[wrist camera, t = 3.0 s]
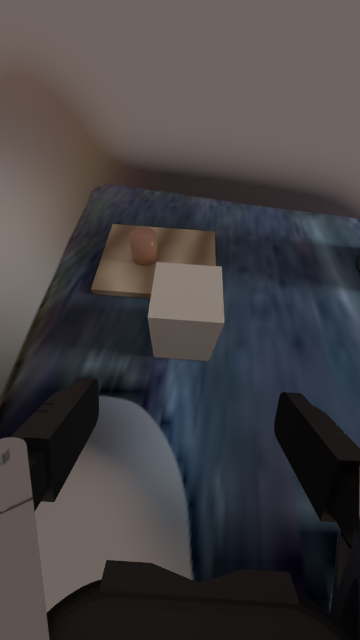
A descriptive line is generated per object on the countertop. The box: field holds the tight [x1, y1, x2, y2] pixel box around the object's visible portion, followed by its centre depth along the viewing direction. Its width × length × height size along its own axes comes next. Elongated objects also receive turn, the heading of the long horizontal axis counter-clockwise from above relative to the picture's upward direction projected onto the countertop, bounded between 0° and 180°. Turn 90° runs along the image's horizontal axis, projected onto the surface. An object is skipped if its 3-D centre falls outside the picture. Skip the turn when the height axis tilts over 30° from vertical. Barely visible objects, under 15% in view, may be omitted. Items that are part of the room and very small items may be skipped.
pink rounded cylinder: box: [129, 227, 158, 266], centre depth 31 cm, size 4×4×4 cm
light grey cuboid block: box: [148, 262, 224, 361], centre depth 24 cm, size 6×6×8 cm
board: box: [91, 224, 216, 298], centre depth 33 cm, size 16×13×1 cm
